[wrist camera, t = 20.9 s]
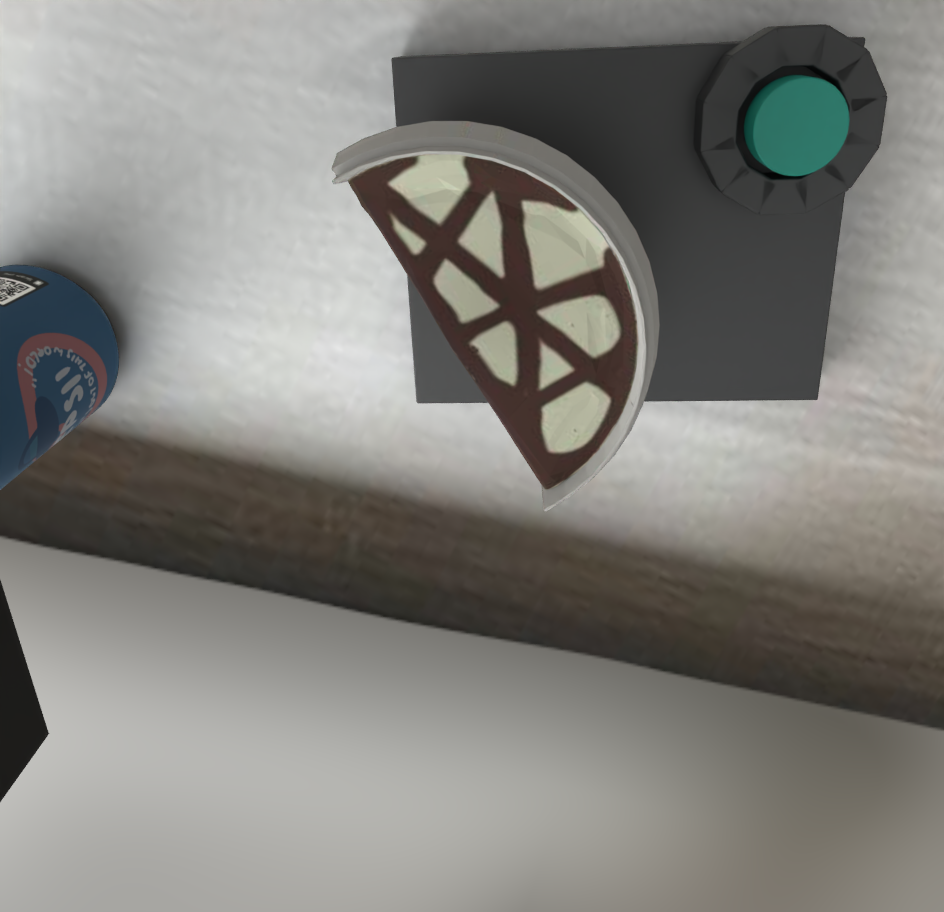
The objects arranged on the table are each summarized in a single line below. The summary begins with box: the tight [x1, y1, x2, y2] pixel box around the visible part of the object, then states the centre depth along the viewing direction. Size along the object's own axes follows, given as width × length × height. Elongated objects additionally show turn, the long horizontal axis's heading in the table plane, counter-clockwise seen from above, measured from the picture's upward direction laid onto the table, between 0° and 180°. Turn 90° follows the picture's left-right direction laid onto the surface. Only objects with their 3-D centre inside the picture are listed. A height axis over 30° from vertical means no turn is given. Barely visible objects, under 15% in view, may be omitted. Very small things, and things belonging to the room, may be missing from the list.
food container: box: [332, 121, 660, 512], centre depth 29 cm, size 12×6×10 cm, turn 32°
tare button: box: [744, 75, 849, 176], centre depth 29 cm, size 3×3×2 cm
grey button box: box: [392, 25, 887, 403], centre depth 33 cm, size 16×13×4 cm
